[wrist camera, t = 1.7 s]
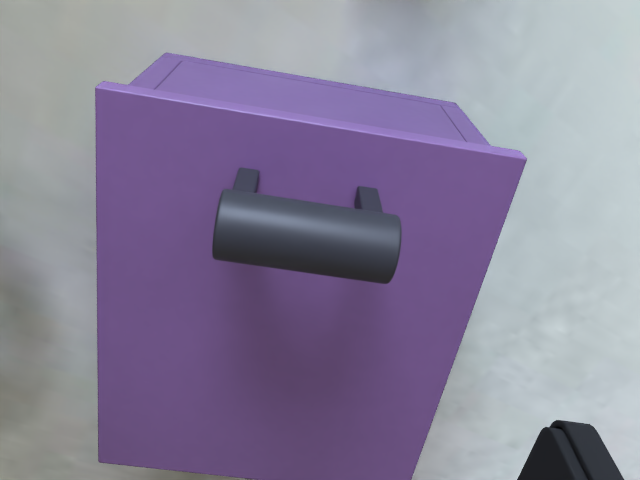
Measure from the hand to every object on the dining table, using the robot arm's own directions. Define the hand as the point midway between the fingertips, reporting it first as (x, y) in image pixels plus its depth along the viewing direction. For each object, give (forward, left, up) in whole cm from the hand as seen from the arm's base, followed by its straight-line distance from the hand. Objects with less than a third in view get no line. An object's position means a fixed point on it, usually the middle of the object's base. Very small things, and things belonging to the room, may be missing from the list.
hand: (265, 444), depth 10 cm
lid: (+6, -1, -12) cm, 13 cm away
